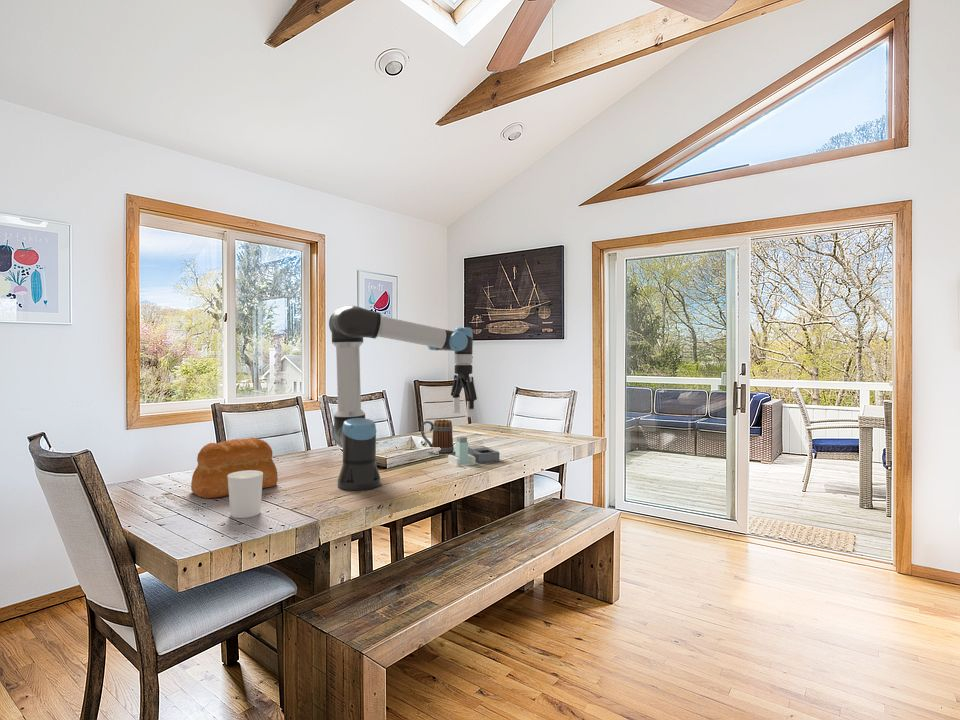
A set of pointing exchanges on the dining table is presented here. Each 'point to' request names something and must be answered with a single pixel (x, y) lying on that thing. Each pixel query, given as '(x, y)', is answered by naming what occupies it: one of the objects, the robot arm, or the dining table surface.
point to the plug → (462, 449)
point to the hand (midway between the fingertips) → (463, 414)
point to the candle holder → (245, 493)
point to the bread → (231, 465)
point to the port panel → (483, 454)
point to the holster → (456, 460)
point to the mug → (440, 435)
